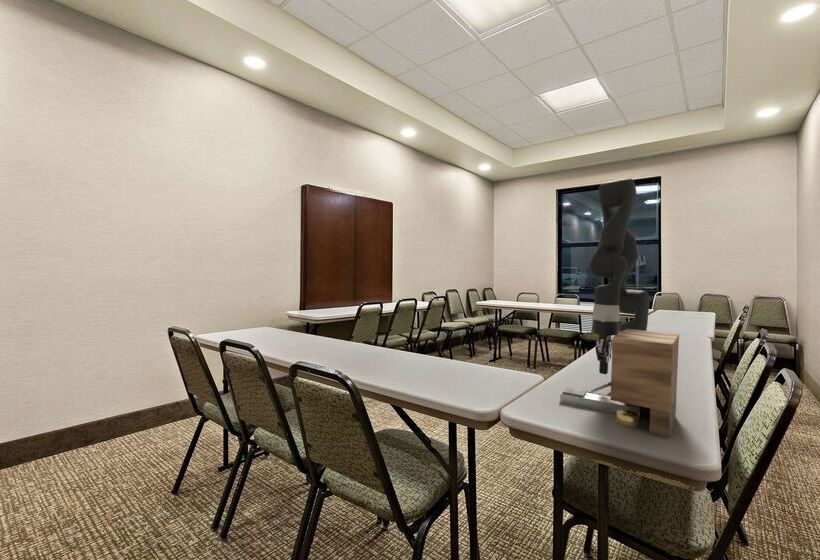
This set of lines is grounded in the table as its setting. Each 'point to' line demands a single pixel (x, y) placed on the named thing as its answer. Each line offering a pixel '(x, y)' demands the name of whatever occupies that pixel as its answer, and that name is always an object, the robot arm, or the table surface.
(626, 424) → the puck
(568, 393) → the bar
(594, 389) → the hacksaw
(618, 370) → the wooden grain block
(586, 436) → the table surface
